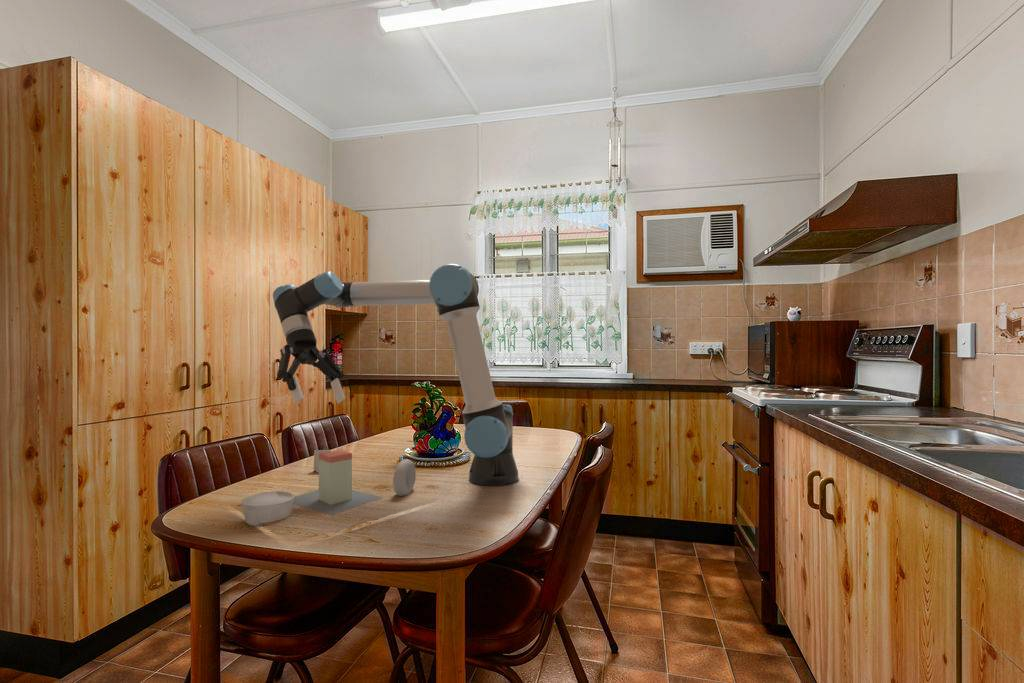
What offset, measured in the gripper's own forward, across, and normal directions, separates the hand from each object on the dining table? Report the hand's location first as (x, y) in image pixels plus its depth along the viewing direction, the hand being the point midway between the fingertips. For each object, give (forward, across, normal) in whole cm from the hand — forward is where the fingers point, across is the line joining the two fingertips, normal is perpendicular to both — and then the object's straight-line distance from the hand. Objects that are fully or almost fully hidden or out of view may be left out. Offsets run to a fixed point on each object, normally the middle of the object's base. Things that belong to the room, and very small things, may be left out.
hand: (321, 400), depth 133 cm
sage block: (+25, -2, -8) cm, 26 cm away
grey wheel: (+31, -15, +2) cm, 34 cm away
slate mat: (+25, -2, -10) cm, 27 cm away
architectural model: (+9, -22, -33) cm, 41 cm away
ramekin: (+25, +14, -13) cm, 31 cm away
